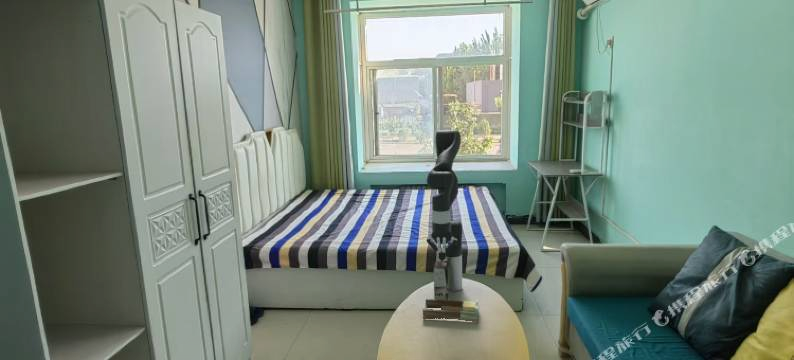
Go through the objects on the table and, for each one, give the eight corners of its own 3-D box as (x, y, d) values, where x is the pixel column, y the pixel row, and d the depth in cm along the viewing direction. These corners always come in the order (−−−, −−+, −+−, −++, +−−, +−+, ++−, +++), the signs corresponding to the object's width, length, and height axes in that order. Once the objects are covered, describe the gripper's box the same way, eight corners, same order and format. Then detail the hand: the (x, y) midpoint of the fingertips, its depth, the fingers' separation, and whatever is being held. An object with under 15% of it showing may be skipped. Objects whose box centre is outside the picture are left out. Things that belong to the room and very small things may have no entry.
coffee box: (448, 302, 205) (447, 268, 201) (434, 301, 206) (433, 268, 202) (450, 292, 213) (449, 260, 210) (436, 292, 215) (435, 260, 211)
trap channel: (426, 308, 200) (425, 295, 199) (478, 311, 196) (478, 298, 195) (423, 319, 191) (422, 306, 189) (477, 323, 186) (477, 309, 185)
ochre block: (463, 309, 194) (463, 300, 193) (475, 310, 193) (475, 301, 192) (463, 315, 189) (462, 306, 188) (475, 316, 188) (475, 307, 187)
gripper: (458, 217, 187) (458, 257, 191) (426, 216, 189) (427, 256, 193) (457, 223, 180) (457, 264, 184) (423, 222, 182) (425, 263, 186)
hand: (442, 260), depth 188 cm, fingers closed
